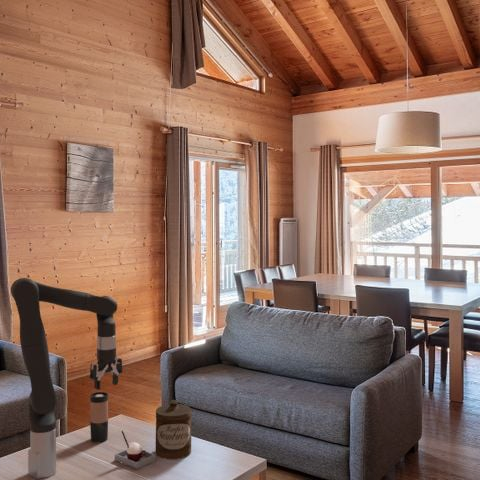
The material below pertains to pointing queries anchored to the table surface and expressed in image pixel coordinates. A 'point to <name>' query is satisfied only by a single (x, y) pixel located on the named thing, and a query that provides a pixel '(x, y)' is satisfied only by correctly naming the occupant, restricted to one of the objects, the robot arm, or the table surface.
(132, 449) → the cocoa
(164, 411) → the labeled brown tin
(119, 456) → the tray
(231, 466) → the table surface
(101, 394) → the travel mug
